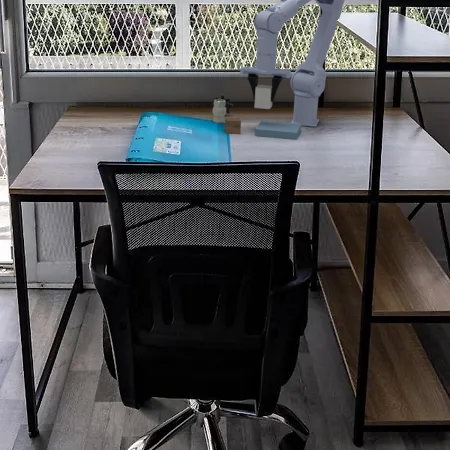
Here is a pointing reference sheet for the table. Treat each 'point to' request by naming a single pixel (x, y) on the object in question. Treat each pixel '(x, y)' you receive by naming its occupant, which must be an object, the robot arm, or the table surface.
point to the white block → (263, 97)
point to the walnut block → (232, 125)
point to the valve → (220, 109)
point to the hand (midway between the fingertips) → (263, 100)
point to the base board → (278, 129)
